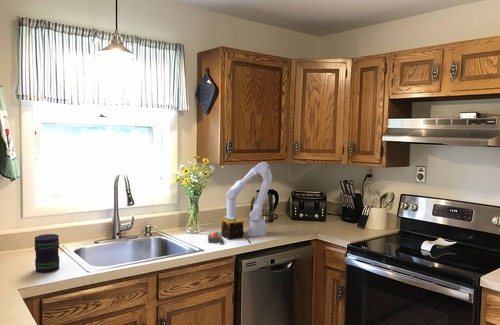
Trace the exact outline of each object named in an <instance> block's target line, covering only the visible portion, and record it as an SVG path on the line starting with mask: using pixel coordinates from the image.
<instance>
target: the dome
mask: <svg viewBox="0 0 500 325" xmlns="http://www.w3.org/2000/svg"><path fill="white" fill-rule="evenodd" d="M210 235H211V237H218V235H217V233H216V232H215V231H214V232H213V231H212V233H211V234H210Z"/></svg>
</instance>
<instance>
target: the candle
mask: <svg viewBox="0 0 500 325" xmlns="http://www.w3.org/2000/svg"><path fill="white" fill-rule="evenodd" d="M220 230H221V231H220V235H221V237H222V238H224V239H227V240H229V241H230V240H237V239H242V238H244V236H245V235H244V233H245V231H244V220H242V219H239V218H237V217H236V218H235V221H231V219H229V218H225V219H221V229H220ZM243 232H244V233H243Z"/></svg>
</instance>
